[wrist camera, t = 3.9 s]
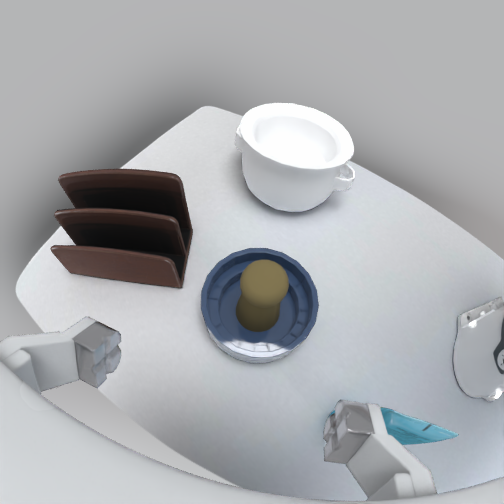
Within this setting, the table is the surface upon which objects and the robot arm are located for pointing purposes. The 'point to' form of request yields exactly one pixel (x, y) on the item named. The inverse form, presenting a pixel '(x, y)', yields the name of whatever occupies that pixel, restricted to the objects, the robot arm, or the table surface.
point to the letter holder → (126, 226)
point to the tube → (412, 428)
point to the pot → (293, 155)
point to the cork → (261, 295)
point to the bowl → (226, 298)
